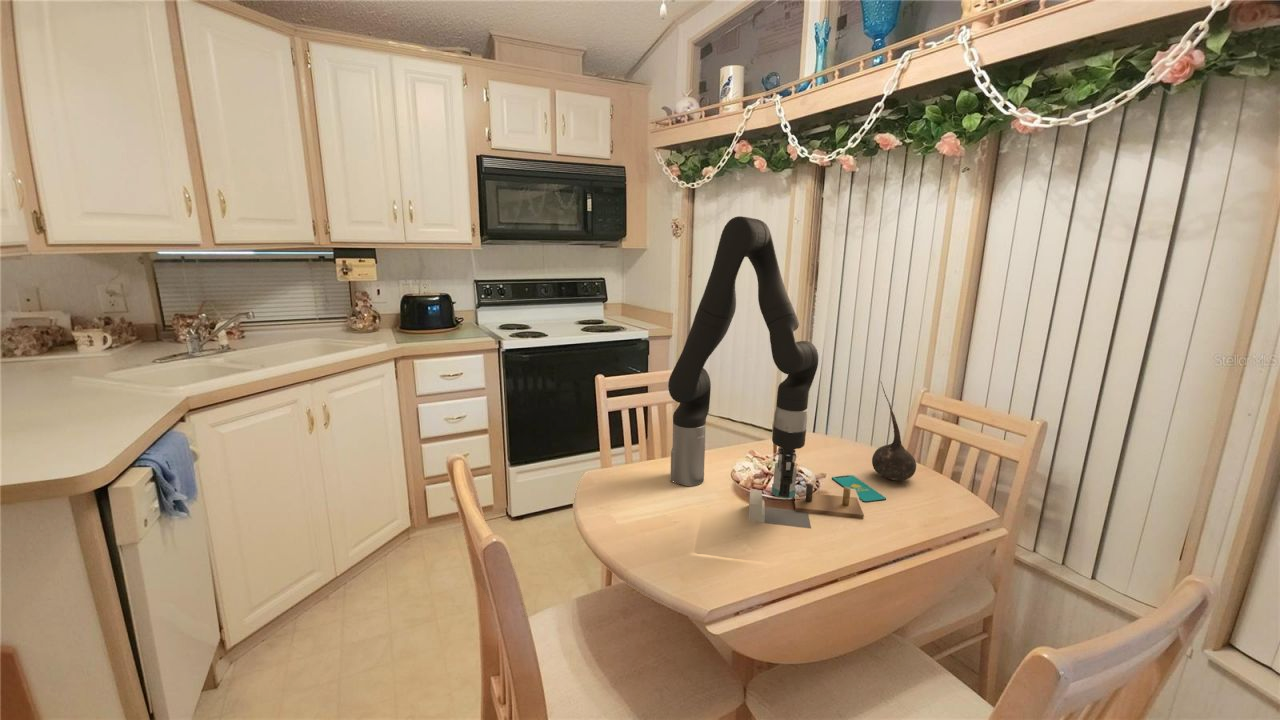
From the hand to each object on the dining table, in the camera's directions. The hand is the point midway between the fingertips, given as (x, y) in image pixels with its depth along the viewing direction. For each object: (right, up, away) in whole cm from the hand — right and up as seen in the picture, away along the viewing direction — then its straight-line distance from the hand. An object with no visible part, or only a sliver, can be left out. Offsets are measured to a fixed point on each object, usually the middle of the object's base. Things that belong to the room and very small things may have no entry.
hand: (783, 490), depth 124 cm
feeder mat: (-1, -7, +2) cm, 8 cm away
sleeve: (0, -1, 0) cm, 1 cm away
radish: (+37, -3, +24) cm, 45 cm away
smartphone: (+26, -5, +18) cm, 32 cm away
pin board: (+13, -6, +7) cm, 16 cm away
